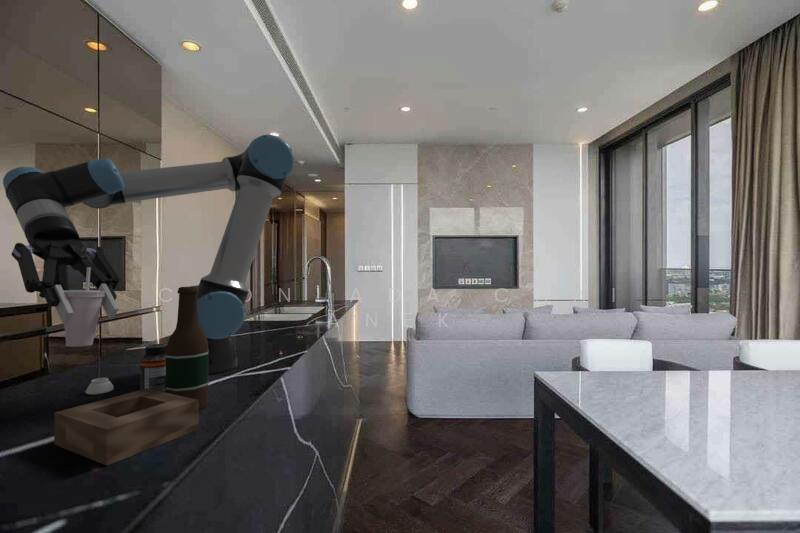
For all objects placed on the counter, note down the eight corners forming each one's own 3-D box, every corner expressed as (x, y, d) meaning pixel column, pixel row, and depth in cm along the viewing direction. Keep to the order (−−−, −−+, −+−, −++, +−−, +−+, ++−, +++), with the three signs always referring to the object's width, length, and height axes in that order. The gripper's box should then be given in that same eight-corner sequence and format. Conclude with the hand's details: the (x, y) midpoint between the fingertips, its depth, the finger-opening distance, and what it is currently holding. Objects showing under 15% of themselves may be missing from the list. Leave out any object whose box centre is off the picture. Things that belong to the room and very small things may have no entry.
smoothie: (104, 345, 70) (109, 267, 71) (57, 349, 66) (63, 265, 66) (99, 341, 75) (103, 268, 75) (54, 344, 70) (59, 266, 71)
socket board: (146, 415, 74) (146, 388, 74) (198, 429, 67) (198, 399, 67) (54, 444, 61) (54, 412, 61) (106, 465, 54) (107, 429, 54)
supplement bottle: (143, 395, 85) (143, 343, 86) (174, 392, 88) (174, 341, 88) (136, 404, 80) (137, 348, 80) (170, 400, 82) (170, 346, 82)
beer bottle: (178, 401, 81) (179, 286, 82) (216, 401, 82) (216, 286, 82) (156, 415, 74) (156, 287, 74) (197, 414, 74) (197, 287, 74)
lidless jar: (80, 396, 86) (105, 395, 86) (80, 383, 86) (105, 382, 86) (94, 389, 91) (118, 388, 91) (94, 377, 91) (118, 376, 91)
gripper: (98, 245, 87) (140, 323, 79) (-27, 239, 69) (12, 338, 62) (111, 219, 84) (156, 297, 76) (-14, 206, 67) (27, 306, 59)
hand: (92, 315), depth 69 cm, fingers closed on smoothie, 6 cm apart
